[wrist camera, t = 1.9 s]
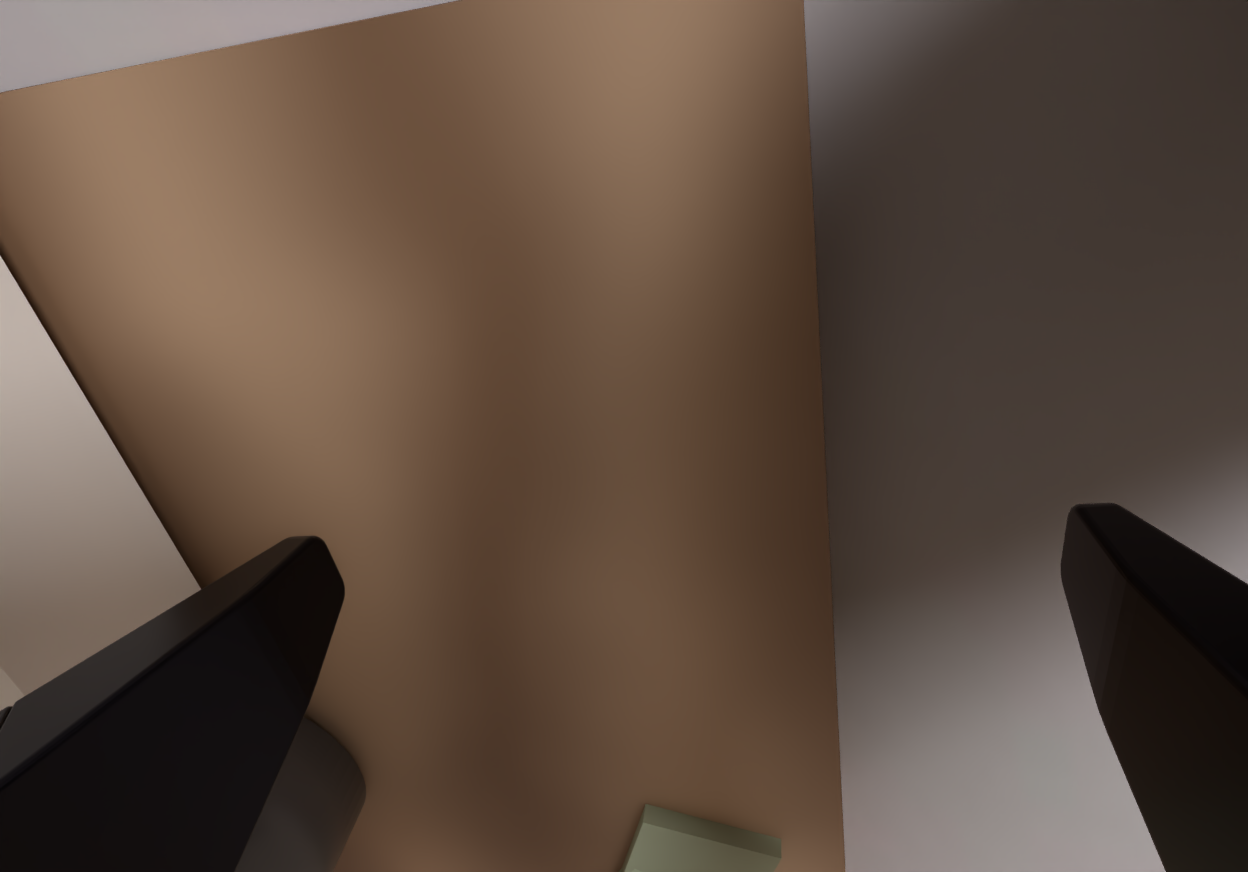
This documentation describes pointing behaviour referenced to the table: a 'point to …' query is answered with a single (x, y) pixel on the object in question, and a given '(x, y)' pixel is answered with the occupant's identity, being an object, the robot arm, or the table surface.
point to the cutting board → (484, 402)
